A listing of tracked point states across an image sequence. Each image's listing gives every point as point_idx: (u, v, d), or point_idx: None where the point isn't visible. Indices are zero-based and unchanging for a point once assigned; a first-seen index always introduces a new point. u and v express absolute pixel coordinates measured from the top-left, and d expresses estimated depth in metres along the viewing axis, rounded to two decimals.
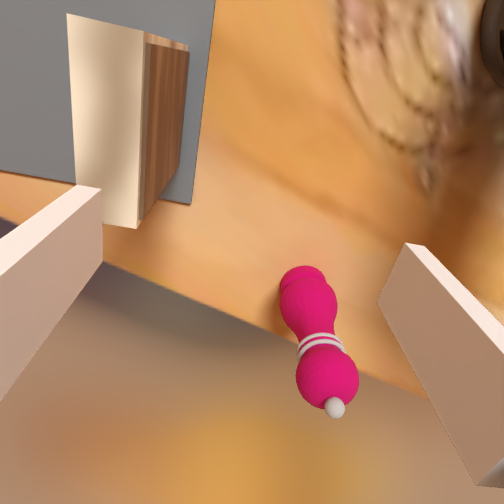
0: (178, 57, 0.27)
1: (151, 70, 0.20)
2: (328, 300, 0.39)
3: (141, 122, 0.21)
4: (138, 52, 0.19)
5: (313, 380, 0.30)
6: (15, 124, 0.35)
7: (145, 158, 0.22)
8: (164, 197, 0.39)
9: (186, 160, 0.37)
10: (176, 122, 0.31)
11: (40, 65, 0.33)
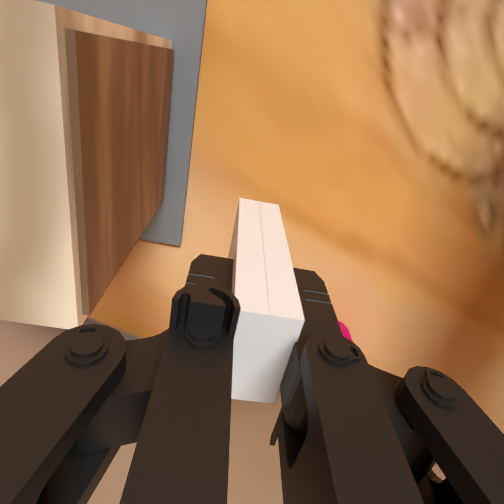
0: (152, 57, 0.18)
1: (83, 80, 0.11)
2: None
3: (70, 171, 0.12)
4: (49, 46, 0.10)
5: None
6: None
7: (84, 226, 0.13)
8: (146, 238, 0.31)
9: (173, 192, 0.29)
10: (154, 148, 0.22)
11: None
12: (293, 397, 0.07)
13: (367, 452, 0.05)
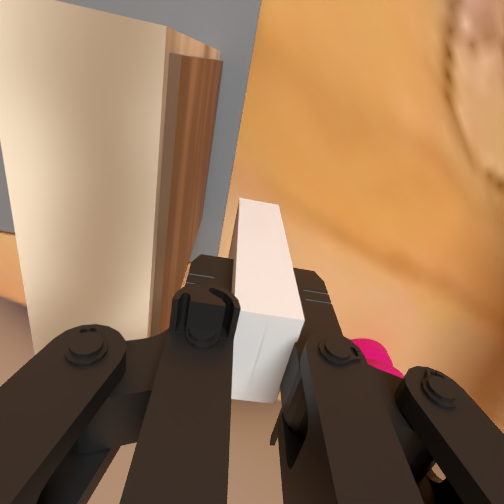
0: (213, 72, 0.16)
1: (179, 112, 0.09)
2: None
3: (156, 216, 0.10)
4: (153, 75, 0.08)
5: None
6: None
7: (162, 275, 0.11)
8: None
9: (212, 210, 0.27)
10: (203, 168, 0.20)
11: None
12: (293, 397, 0.07)
13: (367, 452, 0.05)
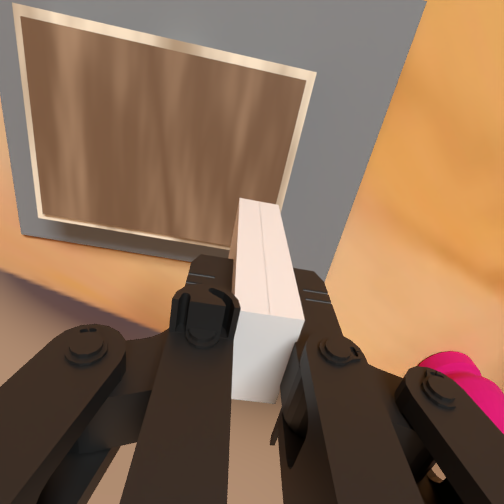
0: (196, 67, 0.18)
1: (34, 49, 0.18)
2: None
3: (28, 104, 0.19)
4: (17, 26, 0.18)
5: None
6: None
7: (36, 146, 0.20)
8: None
9: (329, 231, 0.28)
10: (215, 169, 0.21)
11: None
12: (293, 397, 0.07)
13: (367, 452, 0.05)
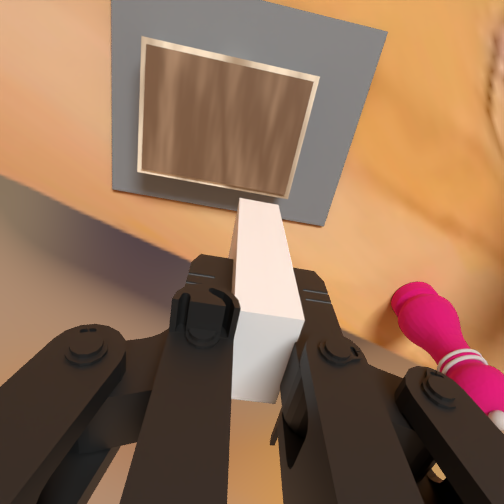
0: (247, 73, 0.30)
1: (151, 63, 0.30)
2: (455, 316, 0.42)
3: (142, 96, 0.31)
4: (141, 50, 0.29)
5: (477, 394, 0.33)
6: None
7: (144, 123, 0.32)
8: (300, 220, 0.42)
9: (327, 186, 0.40)
10: (255, 137, 0.33)
11: None
12: (293, 397, 0.07)
13: (367, 452, 0.05)
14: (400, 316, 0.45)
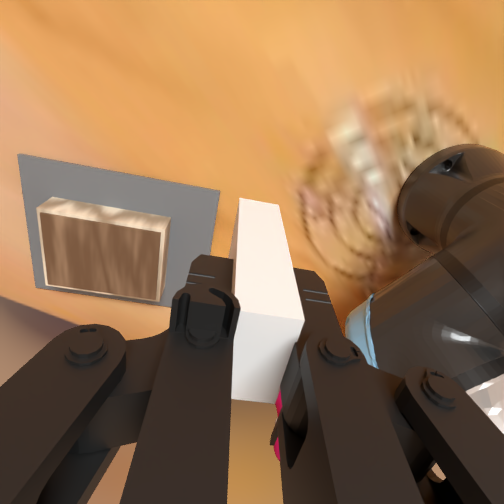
0: (113, 229, 0.43)
1: (44, 223, 0.43)
2: None
3: (42, 241, 0.44)
4: (38, 214, 0.43)
5: None
6: None
7: (45, 257, 0.45)
8: None
9: None
10: (126, 265, 0.46)
11: None
12: (293, 397, 0.07)
13: (367, 452, 0.05)
14: None
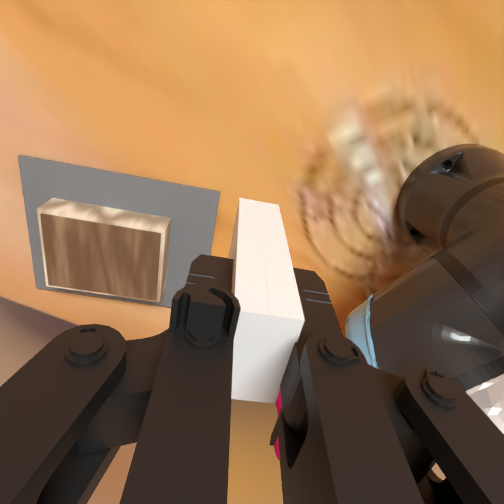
0: (113, 230, 0.43)
1: (45, 224, 0.43)
2: None
3: (42, 242, 0.44)
4: (38, 215, 0.43)
5: None
6: None
7: (45, 258, 0.45)
8: None
9: None
10: (127, 266, 0.46)
11: None
12: (293, 397, 0.07)
13: (367, 452, 0.05)
14: None
